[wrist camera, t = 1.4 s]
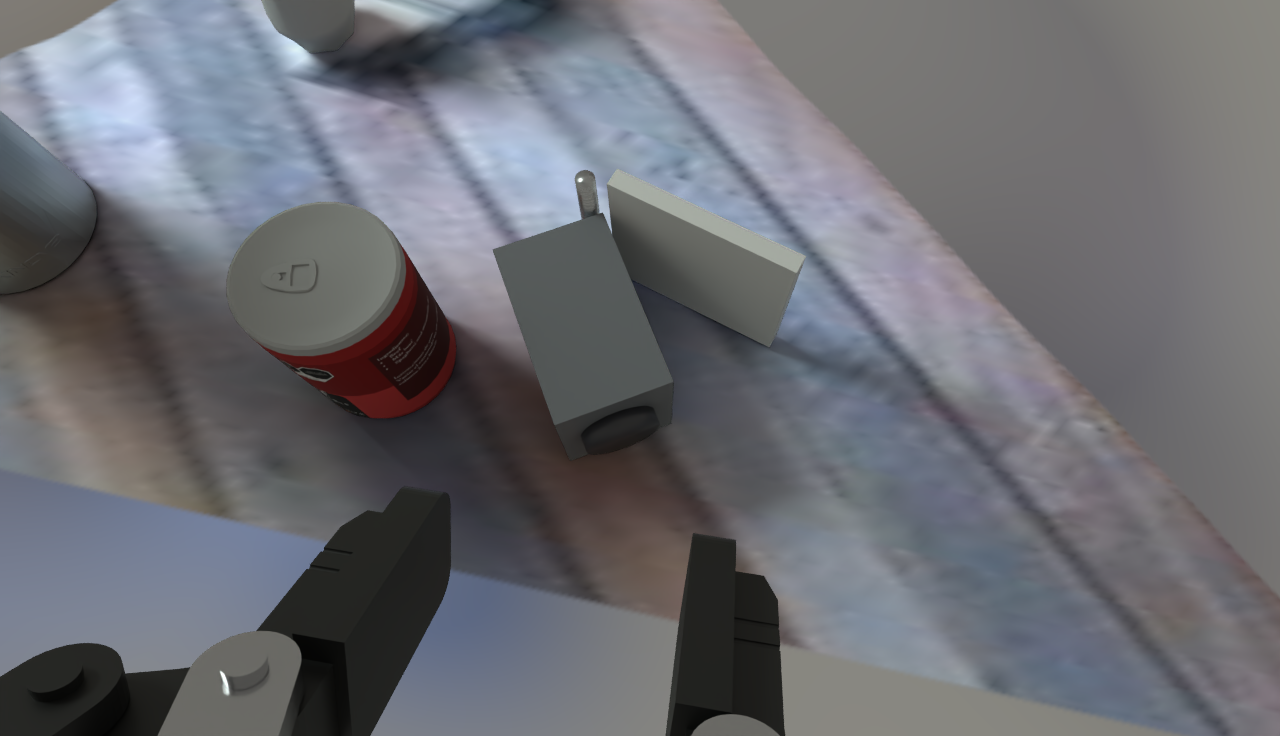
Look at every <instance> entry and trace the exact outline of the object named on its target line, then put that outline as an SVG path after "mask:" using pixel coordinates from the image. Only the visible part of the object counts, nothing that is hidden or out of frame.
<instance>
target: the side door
mask: <svg viewBox="0 0 1280 736" xmlns="http://www.w3.org/2000/svg"><path fill="white" fill-rule="evenodd" d="M607 189H608V198H609V208H610V217H611V227H612V236H613V238H614V240H615V243H616V245H617V248H618V250H619V252H620V255H621V257H622V260H623V262H624V264H625V267H626V269H627V272H628V274H629V276H630V279H632V280H634V281H636V282H638V283H640V284H642V285H644V286H646V287H648V288H650V289H652V290H654V291H656V292H658V293H660V294H662V295H664V296H666V297H668V298H670V299H672V300H674V301H676V302H678V303H680V304H682V305H684V306H686V307H688V308H690V309H692V310H694V311H696V312H698V313H700V314H702V315H704V316H706V317H709V318H711V319H713V320H715V321H717V322H719V323H721V324H723V325H725V326H727V327H729V328H731V329H733V330H735V331H737V332H739V333H741V334H743V335H745V336H747V337H749V338H751V339H753V340H755V341H757V342H759V343H761V344H763V345H765V346H767V347H769V348H770V346H771V344H772V342H773V340H774V338H775V337H776V335H777V332H778V330H779V327H780V324H781V322H782V319H783V316H784V314H785V311H786V308H787V306H788V303H789V300H790V298H791V295H792V292H793V290H794V287H795V284H796V282H797V279H798V276H799V274H800V271H801V268H802V266H803V263H804V260H805V257H806V256H804V255H802V254H800V253H798V252H795V251H793V250H791V249H789V248H787V247H785V246H782V245H780V244H778V243H776V242H774V241H772V240H770V239H767V238H765V237H763V236H761V235H759V234H757V233H755V232H752V231H750V230H748V229H746V228H744V227H742V226H739V225H737V224H735V223H733V222H731V221H729V220H727V219H724V218H722V217H720V216H718V215H716V214H714V213H711V212H709V211H707V210H705V209H703V208H701V207H699V206H696V205H694V204H692V203H690V202H688V201H686V200H683V199H681V198H679V197H677V196H675V195H673V194H671V193H668V192H666V191H664V190H662V189H660V188H658V187H655V186H653V185H651V184H649V183H647V182H645V181H643V180H640V179H638V178H636V177H634V176H632V175H630V174H627V173H625V172H623V171H621V170H619V169H617V170H616V171H615V173H614V174H613V176H612V177H611V179H610V180H609V182H608V183H607Z"/></svg>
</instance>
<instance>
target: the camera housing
mask: <svg viewBox="0 0 1280 736" xmlns="http://www.w3.org/2000/svg"><path fill="white" fill-rule="evenodd" d="M575 183H576V189H577V195H578V201H579V206H580V212H581V218H582V220H579V221H576V222H573V223H570V224H567V225H565V226H562V227H559V228H556V229H553V230H550V231H547V232H544V233H541V234H538V235H535V236H532V237H529V238H526V239H523V240H520V241H517V242H514V243H511V244H508V245H505V246H502V247H499V248H496V249H493V253H494V255H495V258H496V261H497V264H498V267H499V270H500V272H501V275H502V278H503V281H504V284H505V287H506V289H507V292H508V295H509V298H510V301H511V304H512V307H513V309H514V312H515V315H516V318H517V321H518V324H519V326H520V329H521V332H522V335H523V338H524V341H525V343H526V346H527V349H528V352H529V355H530V358H531V360H532V363H533V366H534V369H535V372H536V375H537V378H538V380H539V383H540V386H541V389H542V392H543V395H544V397H545V400H546V403H547V406H548V409H549V412H550V414H551V417H552V420H553V423H554V426H555V428H556V430H557V432H558V435H559V437H560V439H561V441H562V444H563V446H564V448H565V450H566V453H567V455H568V457H569V459H570V461H571V460H574V459H577V458H579V457H582V456H585V455H587V454H593V455H597V454H605V453H610V452H613V451H617V450H620V449H623V448H626V447H628V446H631V445H633V444H635V443H637V442H639V441H641V440H643V439H645V438H647V437H648V436H650V435H651V434H653V433H654V432H655V431H656V430H657V429H658V428H660V427H663V426H666V425H668V424H671V418H672V401H673V385H674V381H673V379H672V376H671V374H670V372H669V369H668V367H667V365H666V362H665V360H664V357H663V355H662V353H661V350H660V348H659V345H658V343H657V341H656V338H655V336H654V334H653V331H652V329H651V326H650V324H649V322H648V319H647V317H646V314H645V312H644V310H643V307H642V305H641V303H640V300H639V298H638V295H637V293H636V291H635V288H634V286H633V283H632V281H631V279H630V276H629V274H628V272H627V269H626V267H625V264H624V262H623V260H622V257H621V255H620V252H619V250H618V248H617V245H616V243H615V240H614V238H613V236H612V233H611V231H610V229H609V226H608V224H607V221H606V219H605V217H604V214H603V213H599V205H598V197H597V189H596V182H595V176H594V174H593V173H592V172H590V171H588V170H583V171H580V172H578V173H577V174H576V176H575Z"/></svg>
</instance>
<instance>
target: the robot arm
mask: <svg viewBox="0 0 1280 736" xmlns="http://www.w3.org/2000/svg"><path fill="white" fill-rule="evenodd" d="M96 217H97V208H96V201H95V198H94V195H93V192H92V190H91V189H90V188H89V186H88V185H87V184H86V182H85V181H84V180H83V179H81V178H80V177H79V176H78V175H77V174H75V173H74V172H73V171H72V170H71V169H69V168H68V167H67V166H66V165H65V164H63V163H62V162H61V161H60V160H59V159H57V158H56V157H55V156H54V155H53V154H51V153H50V152H49V151H48V150H47V149H45V148H44V147H43V146H42V145H41V144H39V143H38V142H37V141H36V140H35V139H34V138H33V137H31V136H30V135H29V134H28V133H27V132H25V131H24V130H23V129H22V128H21V127H19V126H18V125H17V124H16V123H14V122H13V121H12V120H11V119H10V118H8V117H7V116H6V115H5V114H4V113H2V112H1V111H0V294H9V293H15V292H21V291H25V290H28V289H31V288H34V287H36V286H39V285H41V284H43V283H45V282H47V281H49V280H51V279H52V278H54V277H56V276H57V275H58V274H60V273H61V272H62V271H64V270H65V269H66V268H68V267H69V266H70V265H71V264H72V263H73V262H74V261H75V260H76V258H77V257H78V256H79V255H80V254H81V253H82V251H83V250H84V248H85V247H86V245H87V244H88V242H89V240H90V238H91V235H92V233H93V231H94V228H95V223H96ZM450 567H451V523H450V498H449V495H448V494H447V493H444V492H438V491H431V490H425V489H419V488H413V487H406V486H405V487H403V488H401V489H400V490H399V492H398V493H397V494H396V496H395V497H394V498H393V500H392V501H391V502H390V504H389V505H388V506H387V508H386V509H385V510H384V512H383V513H380V512H374V511H368V510H367V511H366V512H364V513H362V514H361V515H359V516H358V517H356V518H354V519H353V520H351V521H349V522H348V523H346V524H345V525H343V526H341V527H340V529H339V530H338V531H337V532H336V533H335V535H334V536H333V537H332V538H331V540H330V541H329V542H328V543H327V545H326V546H325V547H324V551H323V552H320V553H319V554H318V556H317V557H316V558H315V559H314V561H313V562H312V563H311V564H310V568H309V569H306V570H305V572H304V573H303V574H302V576H301V577H300V578H299V579H298V580H297V581H296V583H295V584H294V585H293V586H292V588H291V589H290V590H289V591H288V593H287V594H286V595H285V596H284V597H283V599H282V600H281V601H280V602H279V604H278V605H277V606H276V607H275V609H274V610H273V611H272V612H271V613H270V615H269V616H268V617H267V618H266V620H265V621H264V622H263V623H262V625H261V626H260V627H259V628H258V630H257V631H254V632H247V633H242V634H238V635H236V636H232V637H230V638H227V639H225V640H223V641H221V642H219V643H217V644H215V645H213V646H212V647H210V648H209V649H208V650H206V651H205V652H204V653H203V654H202V655H200V656H199V658H197V660H196V661H195V662H194V663H193V664H192V666H191V667H189V668H183V669H173V670H162V671H151V672H139V673H127V674H125V671H124V668H123V663H122V660H121V657H120V656H119V654H118V653H117V652H116V651H115V650H113V649H112V648H110V647H107V646H104V645H100V644H93V643H80V644H73V645H66V646H63V647H59V648H55V649H52V650H49V651H46V652H44V653H42V654H40V655H37V656H35V657H33V658H31V659H29V660H27V661H26V662H24V663H22V664H20V665H19V666H17V667H16V668H14V669H12V670H11V671H9V672H7V673H6V674H4V675H2V676H1V677H0V736H370V735H371V733H372V731H373V730H374V728H375V726H376V724H377V722H378V720H379V718H380V716H381V715H382V713H383V711H384V709H385V707H386V705H387V703H388V702H389V700H390V697H391V696H392V694H393V692H394V690H395V688H396V686H397V685H398V682H399V681H400V679H401V677H402V675H403V673H404V671H405V670H406V668H407V666H408V664H409V662H410V660H411V658H412V656H413V654H414V653H415V651H416V649H417V647H418V645H419V643H420V641H421V640H422V638H423V636H424V634H425V632H426V630H427V628H428V626H429V625H430V623H431V621H432V619H433V617H434V615H435V613H436V611H437V609H438V608H439V606H440V604H441V602H442V600H443V597H444V594H445V592H446V588H447V585H448V581H449V576H450ZM735 568H736V540H732V539H726V538H720V537H714V536H708V535H701V534H695V533H693V537H692V543H691V549H690V555H689V562H688V568H687V574H686V581H685V587H684V593H683V600H682V606H681V613H680V620H679V627H678V635H677V643H676V652H675V660H674V669H673V677H672V686H671V695H670V703H669V711H668V720H667V728H666V736H785V730H784V715H783V696H782V676H781V657H780V651H779V649H780V636H779V630H778V628H779V616H778V599H777V598H776V596H775V594H774V593H773V591H772V589H771V587H770V586H769V584H768V582H767V581H766V579H765V577H764V576H761V575H755V574H749V573H742V572H736V571H735Z"/></svg>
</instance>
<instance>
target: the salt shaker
mask: <svg viewBox="0 0 1280 736" xmlns="http://www.w3.org/2000/svg"><path fill="white" fill-rule="evenodd" d="M261 1H262V3H263V6H264V9H265V11H266V14H267V16H268V17H269V19H270V21H271V22H272V24H273V26H274V27H275V29H276V30H277V31H278V32H279V33H280V34H282V35H284V36H286V37H287V38H289V39H291V40H293V41H295V42H296V43H297V44H299V45H300V46H301V47H303V48H304V49H305V50H307V51H308V52H310V53H317V52H327V51H336V50H338V49H339V48H340V47H341V45H342V44H343V43H344V42H345V41H346V40H347V39H348V38H349V37H350V36H351V35H352V34H353V33H354V12H355V9H354V0H261Z"/></svg>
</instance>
